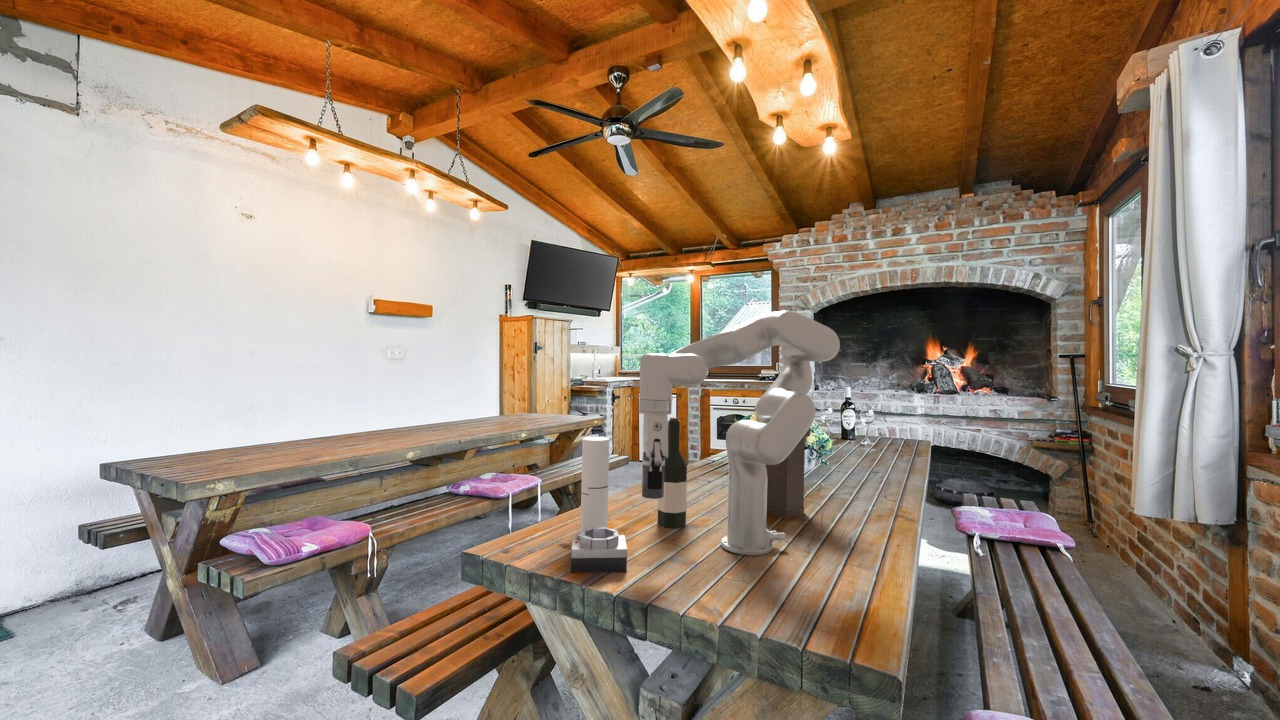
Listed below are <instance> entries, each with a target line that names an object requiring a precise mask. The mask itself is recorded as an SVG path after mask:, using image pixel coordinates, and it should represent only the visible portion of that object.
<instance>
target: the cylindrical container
mask: <svg viewBox="0 0 1280 720" xmlns="http://www.w3.org/2000/svg"><path fill="white" fill-rule="evenodd" d="M581 441H582V446H581V447H582V448H581V451H582V452H581V454H582V455H581V486H580V487H581V492H580V495H581V496H580V501H581V502H580V532H581V531H582V530H585V529H588V528H592V527H606V528H608V525H609V524H608V522H609V521H608V520H609V519H608V518H609V475H610V474H609V472H610V471H609V469H610V468H609V467H610V438H609V437H606V436H584V437H582V440H581Z"/></svg>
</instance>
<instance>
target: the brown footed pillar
mask: <svg viewBox="0 0 1280 720" xmlns="http://www.w3.org/2000/svg"><path fill="white" fill-rule="evenodd" d="M806 437H807V438H808V437H811V427H810V428H809V430H808V431H807V432H806V434H805V435H804V436H803V438H802V439H801V440H800V441H799V443H798V444H797V445H796V447H795V448H794V449H793V450H792V452H791V453H790V454H789V455H788V456H787V458H786V459H784V460H783V461H782V462H781V463H779V464H776V465H765V466H766V470H767V478H768V484H767V515H769V514H770V515H769V516H772V515H774V516H773V517H776V516H778V517H777V518H780V517H782V518H781V519H784V518H786V519H785V520H788V518H789V519H791V518H793V516H794V517H796V516H795V515H797V516H799V515H801V514H800V513H802V514H804V513H805V506H804V502H805V500H804V499H805V498H804V495H805V494H804V493H805V459H806V458H805V456H806V454H805V453H806V452H805V451H806ZM803 512H804V513H803ZM798 514H799V515H798ZM790 517H791V518H790Z"/></svg>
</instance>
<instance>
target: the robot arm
mask: <svg viewBox="0 0 1280 720" xmlns="http://www.w3.org/2000/svg"><path fill="white" fill-rule="evenodd" d="M774 346H780V351H781V357H782V369H781V371H780V372H779V374H778V376H777V377H776V378H775V380H774V381H773V382H772V383H771V385H770V386H769V387H768V388H767V389H766V391H765V392H764V393H763V394H762V396H760V398H759V399H758V401H757V403H756V404H755V409H754V411H755V412H754V413H755V416H756V418H757V419H758V420H759V421H757V420H751V419H741V420H738V421H735V422H734V423H732V424H731V425H730V427H729V428H728V430H727V432H726V436H725V447H726V453H727V461H728V491H727V492H728V495H727V497H728V498H727V501H728V502H727V535H725V536H723V537H722V538H721V541H720V545H721V547H722V548H723V549H724V550H726V551H729V552H731V553H734V554H738V555H744V556H762V555H766V554H770V552H772V551H773V542H774V541H778V542H780V541H781V542H782V541H786V539H787V537H786V536H787V535H786V533H785V532H777V530H769V529H768V528H767V515H768V514H767V484H768V478H767V470H766V466H765V465H776V464H779V463H781V462H782V461H783V460H784V459H786V458H787V456H788V455H789V454H790V453H791V452H792V450H793V449H794V448H795V447H796V445H797V444H798V443H799V441H800V440H801V439H802V438H803V436H804V435H805V434H806V432H807V431H808V430H809V428H810V429H811V427H812V425H813V423H814V419H815V415H816V408H815V407H816V406H815V403H814V401H813V399H812V398H811V397H810V396H809V395H807V394H808V393H809V392H810V390H811V387H812V385H813V373H812V372H813V371H812V368H811V362H816V363H817V362H821V363H822V362H828V361H831V360H832V359H834V358H835V357H836V356H837V355H838V354H839V351H840V348H841V347H840V346H841V342H840V338H839V336H838V334H837V333H836V331H834V330H833V329H832V328H830V327H829V326H827V325H824V324H822V323H821V322H818V321H816V320H814V319H812V318H809V317H808V316H805V315H804V314H801V313H798V312H796V311H792V310H788V309H787V310H778V311H770V312H765V313H761V314H759V315H756V316H754V317H752V318H750V319H748V320H747V321H744V322H742V323H740V324H738V325H736V326H733V327H731V328H729V329H727V330H725V331H721V332H718V333H716V334H713V335H712V336H708V337H706V338H703V339H701V340H697V341H695V342H693V343H691V344H688V345H685V346H684V347H683V346H682V347H681V348H679V349H677V350H675V351H673V352H671V353H668V354H667V353H652V352H651V353H644V354H642V355H641V357H640V360H639V364H640V365H639V392H638V393H639V397H638V413H639V414H642V415H643V424H642V427H643V429H642V438H643V439H642V443H643V452H644V451H645V453H646V456H647V457H648V458H649V471H648V484H647V488H648V489H661V488H662V455H663V456H664V458H668V421H669V419H668V415H671V414H672V403H673V402H672V400H673V399H672V398H673V385H677V386H678V385H679V386H680V385H681V386H685V387H686V386H687V387H693V386H697V385H699V384H702V383H703V382H704V381H705V380H706V379H707V377H708V374H709V369H711V368H716V367H723V366H725V367H726V366H729V365H735V364H738V363H741V362H744V361H745V360H747V359H749V358H752V357H753V356H756V355H757V354H759V353H762V352H763V351H765V350H767V349H770V348H771V347H774ZM651 452H652V453H651ZM651 455H654V457H651ZM652 460H654V461H653V462H652Z"/></svg>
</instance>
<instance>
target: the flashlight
mask: <svg viewBox="0 0 1280 720" xmlns="http://www.w3.org/2000/svg"><path fill="white" fill-rule="evenodd" d="M651 453H652V452H651ZM651 457H654V455H651ZM653 461H654V460H652V462H653ZM641 464H642V475H641V477H642V478H641V497H642V498H646V499H651V500H652V499H654V500H655V499H657V500H658V498H662V497H663V496H664V465H665V458H664V456H663V455H662V488H661V489H648V488H647V484H648V471H649V458H648V457H647V456H646V453H645V451H644V450H643V451H642V463H641Z"/></svg>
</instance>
